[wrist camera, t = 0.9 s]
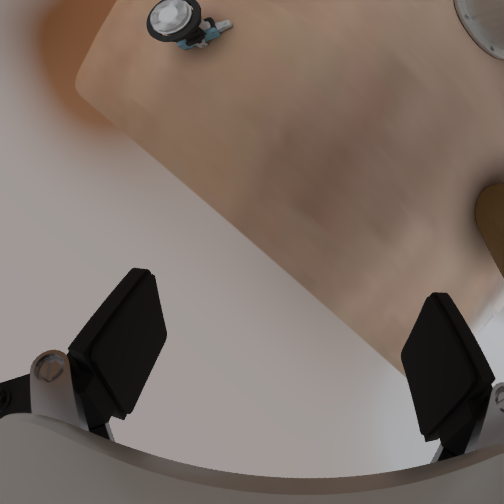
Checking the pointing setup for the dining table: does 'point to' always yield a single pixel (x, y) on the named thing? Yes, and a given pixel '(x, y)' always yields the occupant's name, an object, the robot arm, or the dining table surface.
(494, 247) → the plant pot
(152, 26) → the black mechanical part
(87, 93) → the dining table surface
